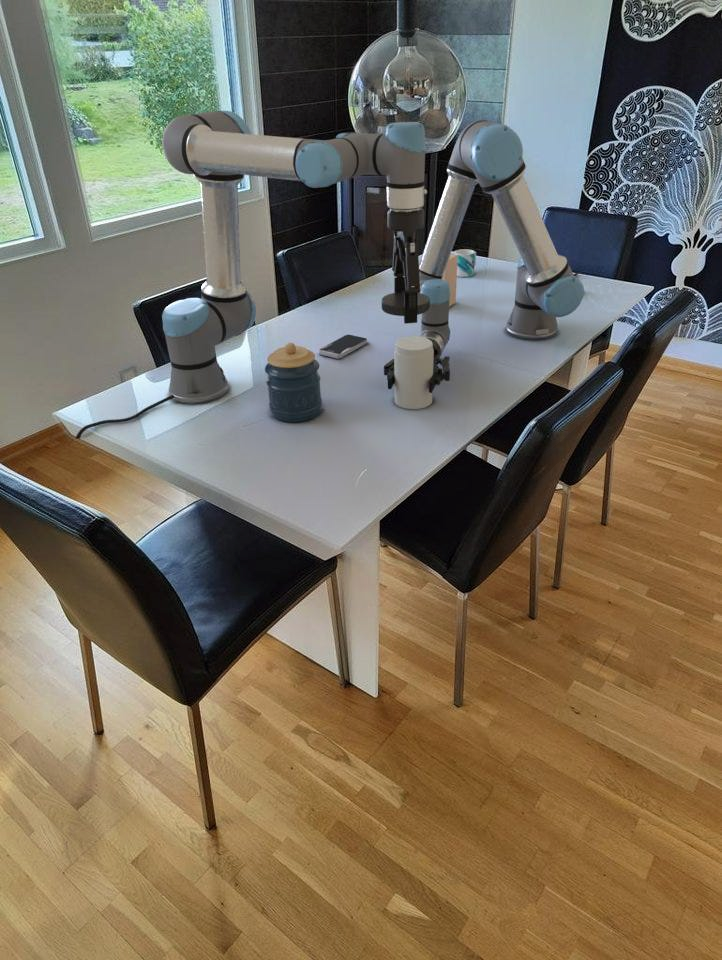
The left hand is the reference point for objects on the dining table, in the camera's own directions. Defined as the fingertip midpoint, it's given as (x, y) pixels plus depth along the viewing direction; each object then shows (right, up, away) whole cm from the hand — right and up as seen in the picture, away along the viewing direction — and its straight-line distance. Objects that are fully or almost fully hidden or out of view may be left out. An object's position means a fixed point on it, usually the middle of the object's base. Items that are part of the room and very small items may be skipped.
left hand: (405, 314), depth 148 cm
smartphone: (-15, +2, +51) cm, 53 cm away
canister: (-26, -20, +18) cm, 37 cm away
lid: (0, +3, -2) cm, 3 cm away
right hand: (+2, -14, +14) cm, 20 cm away
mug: (+31, +44, +113) cm, 125 cm away
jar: (+3, -17, +21) cm, 27 cm away
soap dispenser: (+18, +24, +83) cm, 88 cm away
